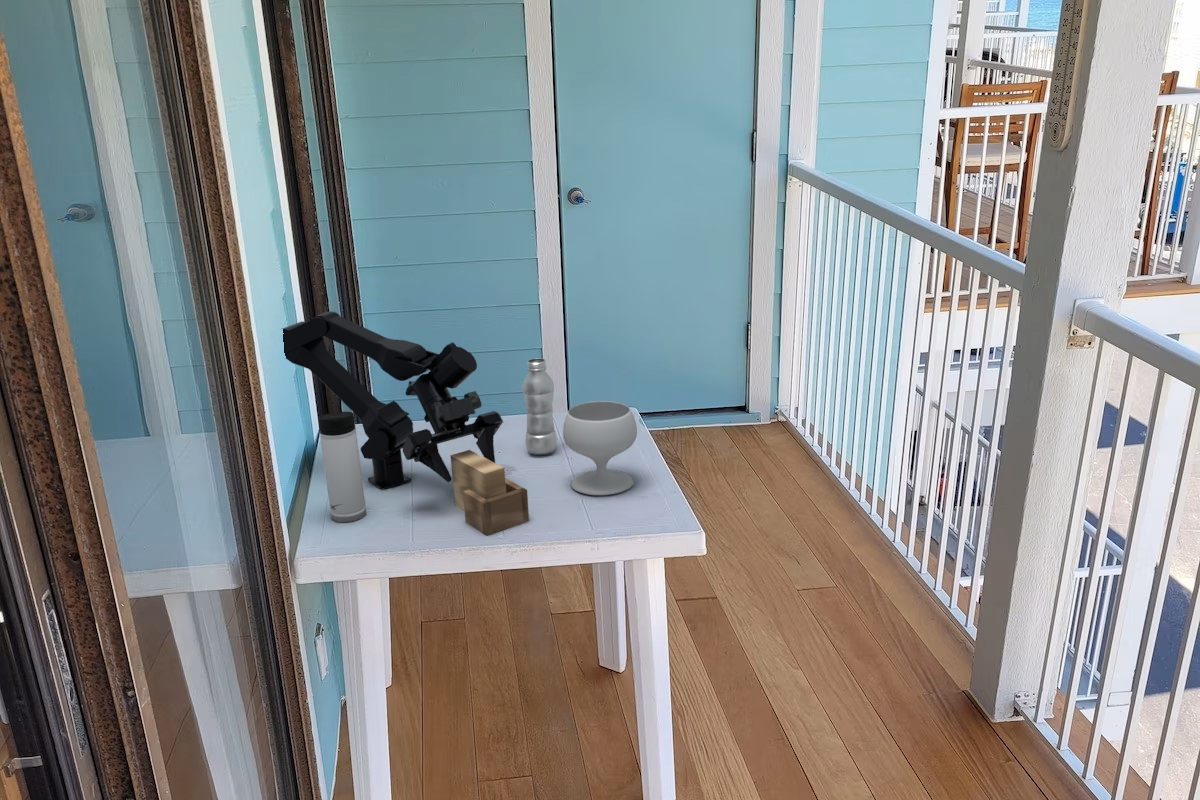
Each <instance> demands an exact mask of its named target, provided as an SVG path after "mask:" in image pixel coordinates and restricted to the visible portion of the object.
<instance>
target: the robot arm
mask: <svg viewBox="0 0 1200 800" xmlns="http://www.w3.org/2000/svg"><path fill="white" fill-rule="evenodd" d="M282 329H283V333H284V334H283V342H284V353H285V356H286V358H285V359H286V360H287V361H289V362H290V363H292V364H294V365H295V366H296V365H297V366H299V367H302V368H305V369H307V370H309V371H310V372H311V373H312V374H313V375H314V376H316V378H317V379H319V380H320V381H321V382H322V384H324V385H325V386H326V388H328V389H329V390H330V392H332V393H333V394H334V395H335V396H336V397H337V398H338V399H339V400H340V401H341V402H343V404H345V406H346V407H348V409H350V411H351V412H353V413H354V414H355V415H356V416H357V417H358V418H359V420H360V421H361V424H362V428H363V431H364V434H365V435H366V436H367V438H368V439H367V440H366V442H364V443H363V445H362V446H361V447H360V448H359V449H360V450H359V451H360V452H361V454H362V456H363V458H364V459H368V460H371V462H372V463H371V464H372V469H373V470H372V471H373V475H372V476H369V477H367V481H368V482H369V483H371V484H373V485H374V486H375V487H377V488H379V489H380V490H385V489H387V488H392V487H394V486H395V487H396V486H399V485H401V484H405V483H408V482H411V480H412V479H411V477H410V476H409V475H406V474H405V473H404V466H403V458H402V453H403V456H404V457H405V460H406V461H411V460H413V461H414V462H415V463H419V462H420V463H421V464H423V465H425V466H426V467H428V468H429V469H431V470H432V471H433V472H435V473H436V474H437V475H438V476H439V477H441V478H442V479H444V480H445V481H446V482H447V483H451V482H452V481H453V478H452V477H451V476H452V475H451V474H450V471H449V470H448V468H447V466H446V464H445V461H444V460H443V458H442V456H441V454H440V452H439V448H438V445H439V444H442V443H446V442H449V441H453V440H456V439H461V438H464V437H467V436H470V435H471V436H473V437H474V439H477V441H476V442H475V444H476V446H477V448H478V449H479V451H480V452H481V454H482V457H484V458H486V459H488V460H490V461H492V462H494V463H496V459H495V448H494V446H495V445H494V436H495V435H496V433H497V431H499V429H500V427H501V426H502V425H503V423H504V420H503V418H502V416H501V414H500V413H499V412H497V411H495V410H492V411H488V412H485V413H482V414H478V416H477V417H476V419H475V421H474V422H472V423H469V424H466V422H469V420H470V415H475V414H476V410H477V409H480V408H481V407H482V401H481V398H480V396H479V395H478V393H477V391H476V390H474V391H470V392H467V393H465V394H464V395H463V398H460V399H458V398H457V397H456V396H452V395H451V392H450V390H449V389H452V390H453V389H457V388H458V387H459V386H460V385H461V384H462V383H463V382H464V381H465V380H467V378H468V377H470V376H471V375H472V374H473V373H475V371H476V370H477V368H478V363H477V361H476V360H477V359H476V358H475V356H474V355H473V354H472V352H471V351H468V350H467V349H465V348H463V347H461V346H457V345H456V344H455V342H453V341H452V342H450V343H448V344H446V345H445V346H444V347H443V349H442V350H441V352H440V353H438V352H433V351H430V350H427V349H426V348H425V347H424V346H422V345H421V344H419V343H415V342H412V341H408V340H405V339H392V338H388V337H386V336H383V335H381V334H379V333H377V332H375V331H372V330H370V329H368V328H366V327H364V326H362V325H360V324H357V322H356V323H355V322H353V321H351V320H349V319H347V318H346V317H342V316H341V315H340V314H339V313H337V312H335V311H327V312H324V313H321V314H318V315H316V316H315V317H314V318H312V319H310V320H308V321H307V320H306V321H304V320H303V321H299V322H296V323H294V324H291V325H288V326H286V327H283V328H282ZM324 338H328V339H330V340H332V341H333V342H336V343H338V344H340V345H342V346H345V347H346V348H348V349H351V350H353V351H355V352H357V353H359V354H361V355H364V356H365V357H368V358H369V359H371V360H373V361H374V362H376V363H377V364H378V366H379V367H380V369H381V370H382V371H384V372H385V373H386V374H388V375H389V376H390V377H392V378H393V379H395V380H396V381H399V382H405V381H407V380H409V381H408V385H407V387H406V389H405V392H404V393H405V395H406V396H411V397H412V396H414V397H415V396H417V399H418V401H419V403H420V405H421V407H422V410H423V411H424V414H425V415H424V417H423V419H424V421H425V423H429V424H430V426H431V428H432V430H433V432H434V433H433V434H432V431H430V430H429V429H428V428H426V429H425V428H424V429H421V430H417V431H414V422H413V421H412V419H411V418H410V417H409V415H410V413H409V412H407V411H405V410H404V409H403V408H402V407H401V406H400V405H399V404H398V402H396V401H395V400H392V401H389V403H384V402H381V401H380V400H379V399H377V397H375V396H374V395H373V394H372V393H371V392H370V391H369V390H368V389H367V388H366V387H365V386H364V385H362V383H361V382H360V381H359V380H358V379H356V378H355V377H354V375H352V374H351V372H349V371H348V370H347V369H346V368H345V367H344V366H343V365H342V364H341V363H340V362H339V361H338V360H337V359H335V358H334V356H333V355H332V354H331V353H330V352H329V351H328V348H327V346H326V341H325V339H324ZM427 371H428V372H427ZM426 372H427V373H426ZM414 377H417V378H416V379H415V380H410V379H411V378H414ZM448 388H449V389H448Z"/></svg>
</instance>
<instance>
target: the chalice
mask: <svg viewBox="0 0 1200 800" xmlns="http://www.w3.org/2000/svg"><path fill="white" fill-rule="evenodd" d="M637 436H638V426H637V421H636V418H635V416H634V413H633V412H632V410H631V408H630V407H629V406H628V405H627V404H624V403H622V402H618V401H610V400H595V401H587V402H583V403H582V402H581V403H579V404H576V405H574V406H572V407H571V408H569V409H568V411H567V414H566V415H565V418H564V422H563V427H562V437H563V441H564V444H565V445H566V446H567V447H568V448H569V449H570V450H572V451H573V452H574V453H576V454H578V455H581V456H584V457H586V458H589V459H590V460H592V461H593V462H594V463H595V465H596V469H594V470H590V471H589V470H588V471H586V472H582V473H580V474H578V475H577V476H575V477H574V478H572V480H571V482H570V487H571V489H572V490H574V491H576V492H578V493H580V494H585V495H590V496H610V495H616V494H620V493H622V492H626V491H627V490H629V489H630V488H631V487H633V485H634V483H635V481H634V478H633V476H631V475H630V474H628V473H625V472H623V471H619V470H613V469H607V466H608V463H609V461H610V460H611V459H612V458H615V457H616V456H618V455H620V454H621V453H625V451H628V449H630V448H631V447H632V446H633V445H634V443H635V442H636V438H637Z"/></svg>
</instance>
